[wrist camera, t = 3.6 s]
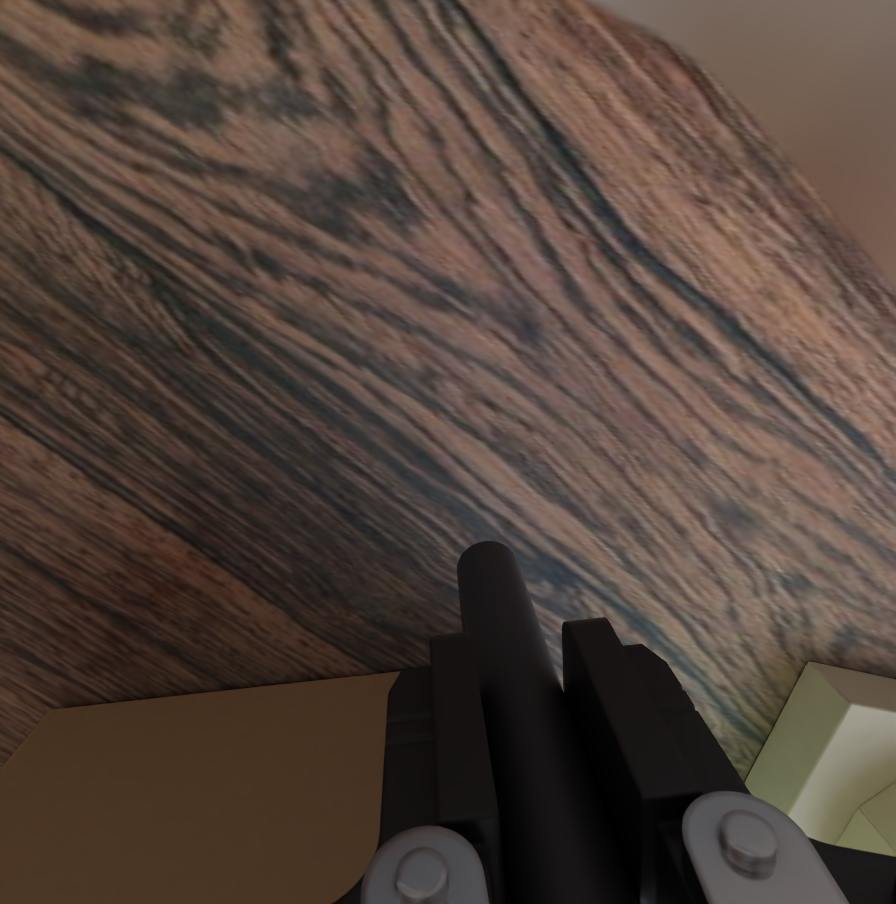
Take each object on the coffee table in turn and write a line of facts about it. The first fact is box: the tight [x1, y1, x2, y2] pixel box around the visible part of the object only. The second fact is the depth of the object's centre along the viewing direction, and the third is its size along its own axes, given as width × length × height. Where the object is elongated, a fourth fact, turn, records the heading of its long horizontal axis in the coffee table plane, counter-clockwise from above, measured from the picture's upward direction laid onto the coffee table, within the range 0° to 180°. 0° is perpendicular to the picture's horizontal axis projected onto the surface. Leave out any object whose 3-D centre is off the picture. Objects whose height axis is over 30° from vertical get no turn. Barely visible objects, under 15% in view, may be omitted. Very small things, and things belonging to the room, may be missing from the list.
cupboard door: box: [0, 541, 638, 904], centre depth 11 cm, size 7×17×17 cm, turn 95°
